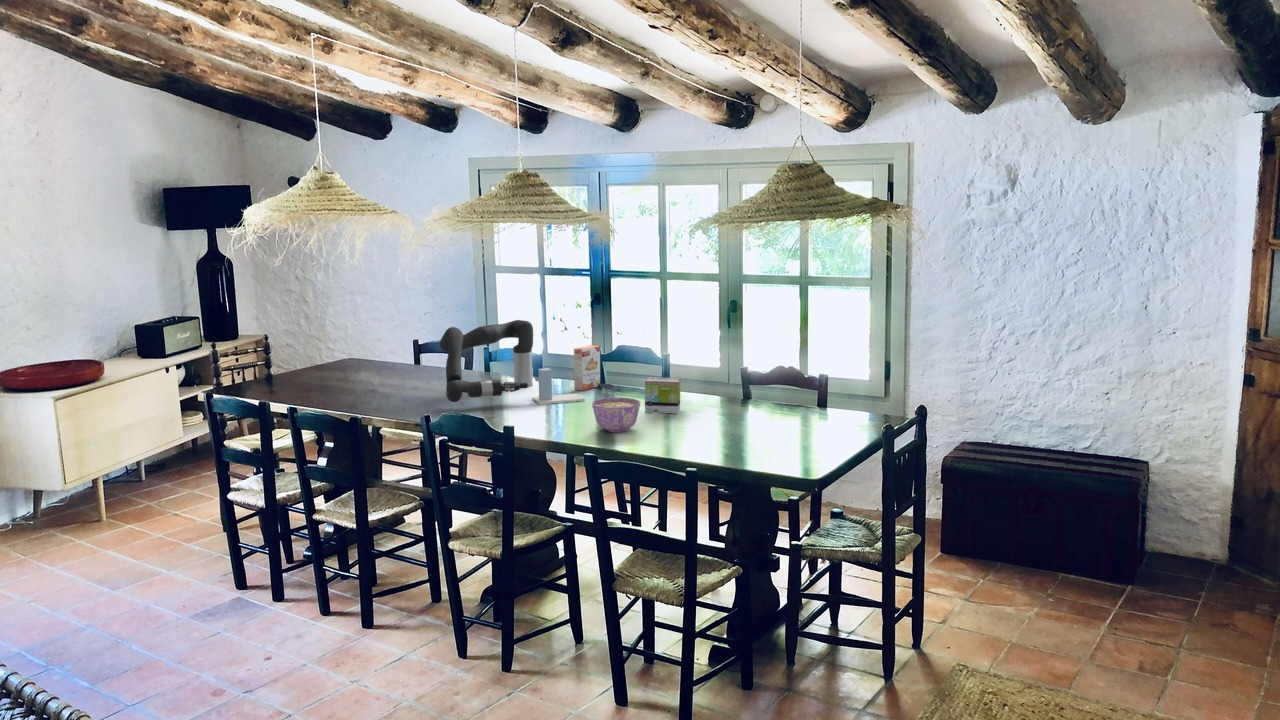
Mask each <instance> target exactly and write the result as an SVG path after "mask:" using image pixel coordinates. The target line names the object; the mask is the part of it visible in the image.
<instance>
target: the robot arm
mask: <svg viewBox="0 0 1280 720" xmlns="http://www.w3.org/2000/svg"><path fill="white" fill-rule="evenodd" d="M511 338H515V339H518V342H517V344H516V345H514V346H513V348H512V350H513V351H512V352H513V353H512V354H513V355H512V356H513V380H514V381H504V382H503V383H502V381H501V379H499V378H498V379H489V380H488V379H487V380H480V381H467V380H462V376H463V374H462V351H463V350H465V349H469V348H475V347H480V346H486V345H492V344H495V343H498V342H499V341H501V340H502V339H503V340H504V339H511ZM439 347H440V349H441V350H442V351H444V352H446V353H447V358H446V363H445V364H446V365H445V377H446V386H445V387H446V391H445V392H446V393H445V395H446V398H447V400H448V401H450V402H452V403H458V402H459V401H460V400H461V399H462V396H463V393H466V394H467V395H468V397H470V398H481V397H482V398H483V397H484V398H485V397H486V398H487V397H490V398H491V397H500V396H502V393H503V392H505V393H508V392H510V393H514V392H516V391H520V389H528V387H531V386H533V384H534V383H533V381H534V380H533V352H532V350H533V347H534V327H533V324H532V323H531V322H530V321H529V320H524V319H523V320H522V319H521V320H520V319H516V320H512V321H508V322H505V323H501V324H500V323H499V324H497V323H496V324H495V323H494V324H487V325H482V326H478V327H476V328H473V329H472V330H470V331H468V332H467V333H465V334H463V332H462V330H461V329H460V328H457V327H456V326H455V327H454V326H451V327H448V328H447V329H446V330H445V331H444V334H443V335H442V337H441V338H440V342H439Z"/></svg>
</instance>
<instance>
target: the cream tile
mask: <svg viewBox="0 0 1280 720" xmlns="http://www.w3.org/2000/svg"><path fill="white" fill-rule="evenodd" d="M531 399H533V400H532V401H534V402H535V401H536V402H537V403H538V404H537V403H536V402H535V403H536V404H537V405H539V404H544V405H552V404H551V403H556V404H566V402H568V403H577V402H576V401H579V402H586V401H585V399H586V398H585V397H583V396H581V395H580V394H579V393H567V394H566V393H565V394H552V399H551V400H541V399H540V398H539V395H538V396H532V397H531Z"/></svg>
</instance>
